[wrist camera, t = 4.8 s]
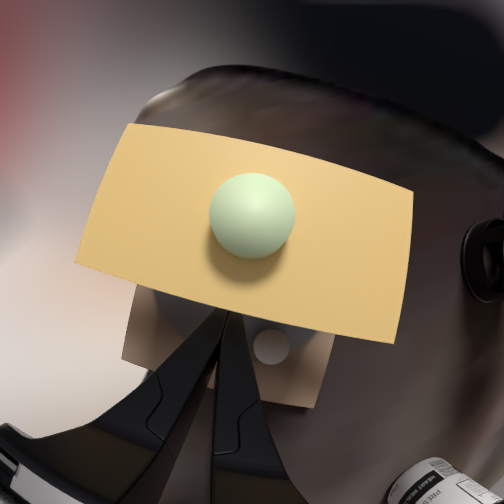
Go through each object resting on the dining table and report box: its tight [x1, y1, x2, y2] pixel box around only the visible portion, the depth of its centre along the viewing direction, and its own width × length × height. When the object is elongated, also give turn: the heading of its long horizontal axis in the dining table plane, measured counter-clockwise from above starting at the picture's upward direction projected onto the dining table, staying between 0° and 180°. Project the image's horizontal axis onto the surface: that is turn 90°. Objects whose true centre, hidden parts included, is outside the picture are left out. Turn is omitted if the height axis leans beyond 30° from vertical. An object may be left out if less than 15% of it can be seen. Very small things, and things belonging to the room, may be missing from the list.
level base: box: [121, 284, 335, 408], centre depth 21 cm, size 20×16×4 cm
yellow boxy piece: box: [75, 123, 413, 344], centre depth 13 cm, size 6×13×10 cm, turn 76°
